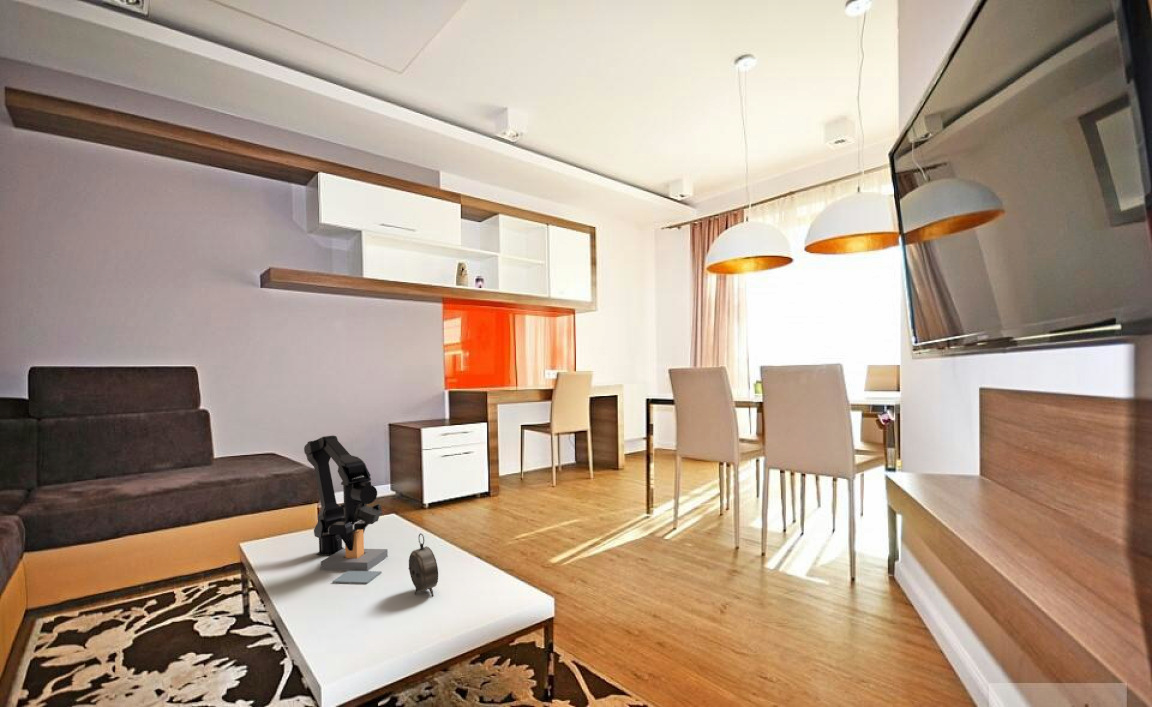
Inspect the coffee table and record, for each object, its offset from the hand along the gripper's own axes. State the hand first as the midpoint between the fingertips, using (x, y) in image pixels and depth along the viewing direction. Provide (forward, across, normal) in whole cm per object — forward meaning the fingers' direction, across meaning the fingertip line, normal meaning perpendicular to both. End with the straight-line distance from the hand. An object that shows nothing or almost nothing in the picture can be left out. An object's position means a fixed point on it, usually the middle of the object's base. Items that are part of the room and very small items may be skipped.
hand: (354, 548), depth 169 cm
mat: (+5, -12, -8) cm, 15 cm away
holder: (+5, 0, 0) cm, 5 cm away
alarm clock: (+5, -20, -33) cm, 39 cm away
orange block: (+4, 0, 0) cm, 4 cm away
